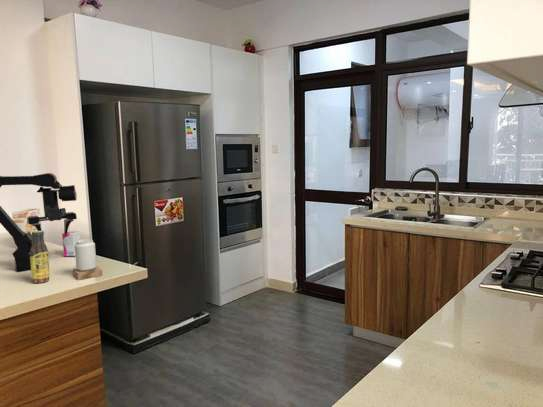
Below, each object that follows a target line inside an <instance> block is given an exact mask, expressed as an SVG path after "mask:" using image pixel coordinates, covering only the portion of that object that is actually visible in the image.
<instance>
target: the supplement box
mask: <svg viewBox="0 0 543 407" xmlns="http://www.w3.org/2000/svg"><path fill="white" fill-rule="evenodd" d="M61 235H62V247H63V257H64V258H76V257H75V244H76V241H79V240H81V235H80V231H67V234H66V236H65V234H64V232H63V233H62V234H61Z"/></svg>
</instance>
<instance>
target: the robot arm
mask: <svg viewBox="0 0 543 407" xmlns="http://www.w3.org/2000/svg"><path fill="white" fill-rule="evenodd" d="M57 179H58V178H57V176H56V175H55V174H54V173H52V172H46V173H41V174H35V175H15V176H14V175H12V176H11V175H10V176H8V175H6V176H5V175H3V176H2V175H0V188H2V186H21V185H22V186H25V185H27V186H29V185H30V186H31V185H32V186H37V187H39V189H38V190H37V191H36V192H37V193H42V195H41V196H42V203H43V212H44V216H41V217H38V216H28V217H27V223H28V224H31V225H32V226H35V227H36V229H37V230H38V231H43V229H42V230H41V227H42V223H41V224H40V223H39V221H41V222H44V221H45V222H46V221H49V222H54V221H61V220H62V219H63V233H64V234H65V236H66V234H67V232H69V227H70V224H71V223H72V222H74V220H77V213H75V212H74V211H68V212H67V211H66V210H67V208H66V207H61V208H60V206H59V200H60V201H62V202H74V201H77V197H78V196H77V191H76V187H75V184H73V185H62V184H61V183H60V182H59V181H58V180H57ZM0 225H1V226H2V227H3V228H4V230H6V232H7V233H8V234H9V235H10V236H11V237H12V239H13V242H14V244H16V245H15V247H16V246H17V249H15V250H14V251H13V252H12V256H13V258H14V264H15V265H14V269H15V271H16V272H18V273H19V272H25V271H29V270H30V271H31V262H30V249H31V246H32V245H33V236H32V235H31V233H30V232H27V233H25V232H23V231H22V230H21V229H20V228H19V227H18V226H17V224H16V223H15V222H14V221H13V218H11V216H10V214H9V213H7V212H6V210H5V209H4V208H3V207H2V206H1V205H0Z"/></svg>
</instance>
